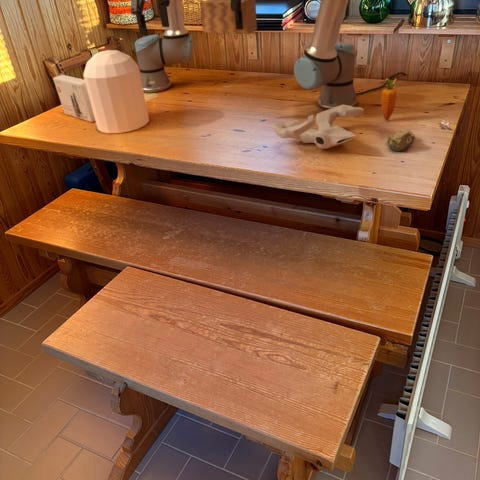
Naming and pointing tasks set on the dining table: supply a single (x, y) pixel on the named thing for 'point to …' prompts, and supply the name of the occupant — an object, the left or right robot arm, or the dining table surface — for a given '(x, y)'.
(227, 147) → the dining table surface
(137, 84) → the container
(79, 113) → the skincare box
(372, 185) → the dining table surface
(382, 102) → the carrot
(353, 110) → the animal horns
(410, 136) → the rock
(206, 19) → the box
